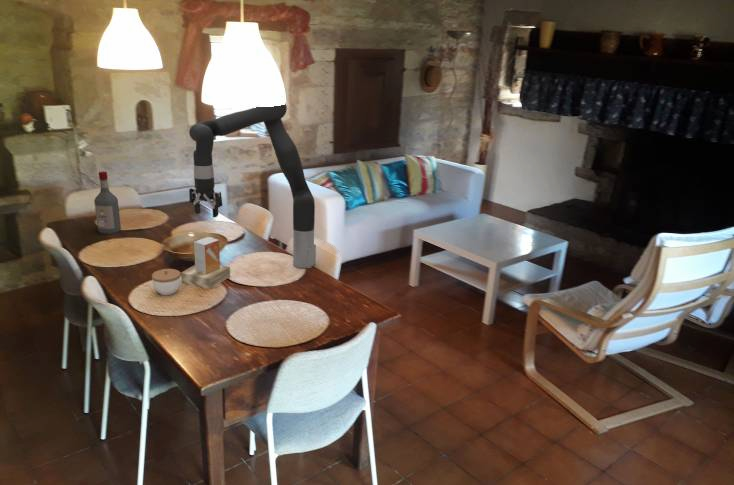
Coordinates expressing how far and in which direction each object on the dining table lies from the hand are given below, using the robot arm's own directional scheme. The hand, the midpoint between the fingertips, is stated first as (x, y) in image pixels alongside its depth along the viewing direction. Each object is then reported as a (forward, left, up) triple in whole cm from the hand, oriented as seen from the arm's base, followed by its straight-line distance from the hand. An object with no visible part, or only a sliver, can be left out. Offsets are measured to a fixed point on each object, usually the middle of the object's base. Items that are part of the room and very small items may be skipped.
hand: (206, 215), depth 231 cm
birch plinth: (+1, +2, -28) cm, 28 cm away
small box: (0, +2, -24) cm, 24 cm away
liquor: (+79, -21, -28) cm, 86 cm away
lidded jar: (+6, +18, -28) cm, 34 cm away
